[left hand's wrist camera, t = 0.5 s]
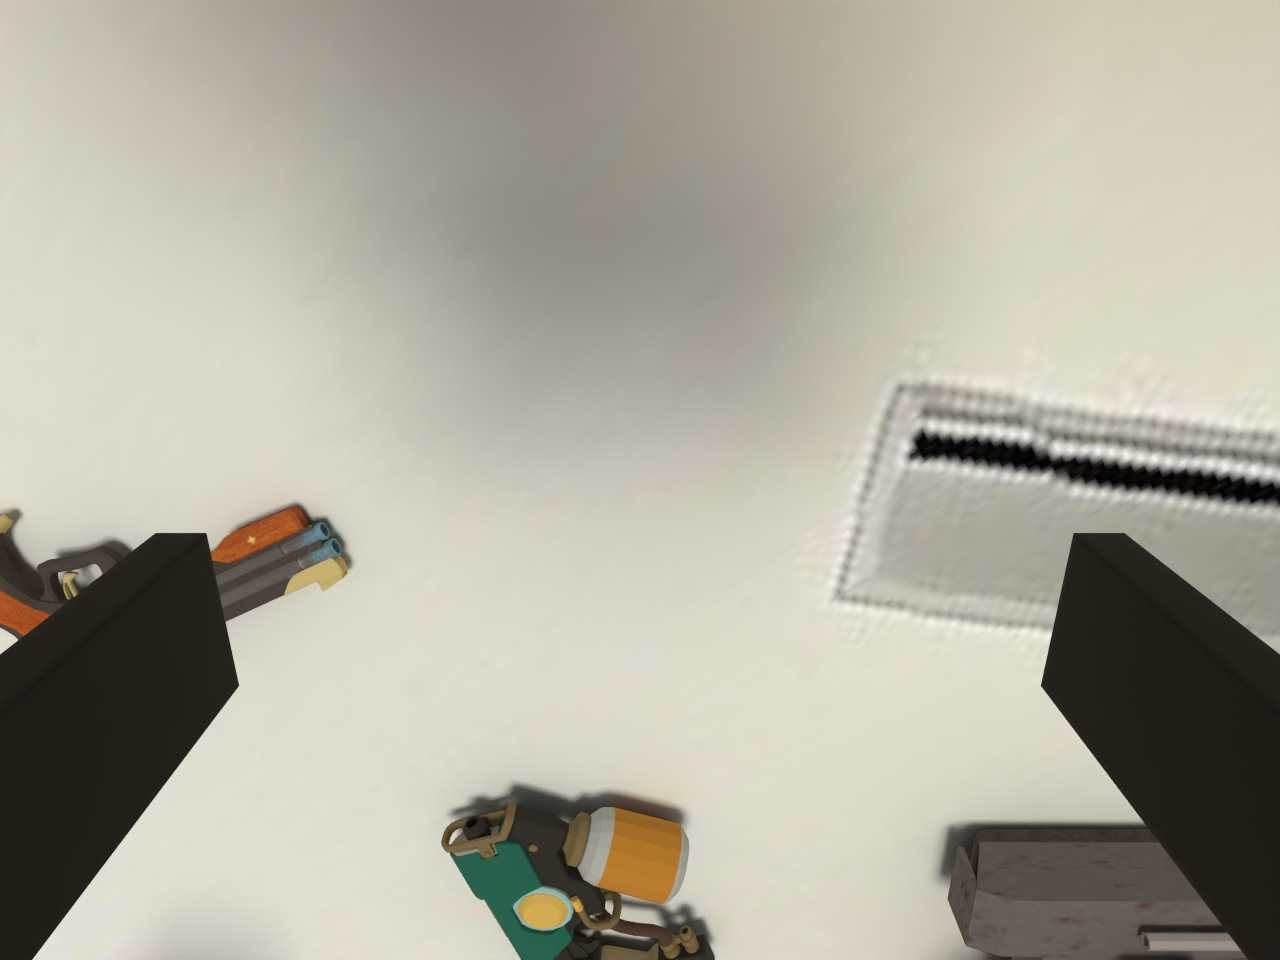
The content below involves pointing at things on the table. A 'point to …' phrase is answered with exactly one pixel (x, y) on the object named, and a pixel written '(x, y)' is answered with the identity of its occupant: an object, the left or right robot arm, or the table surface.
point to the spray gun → (575, 879)
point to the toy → (1081, 898)
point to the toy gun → (243, 565)
